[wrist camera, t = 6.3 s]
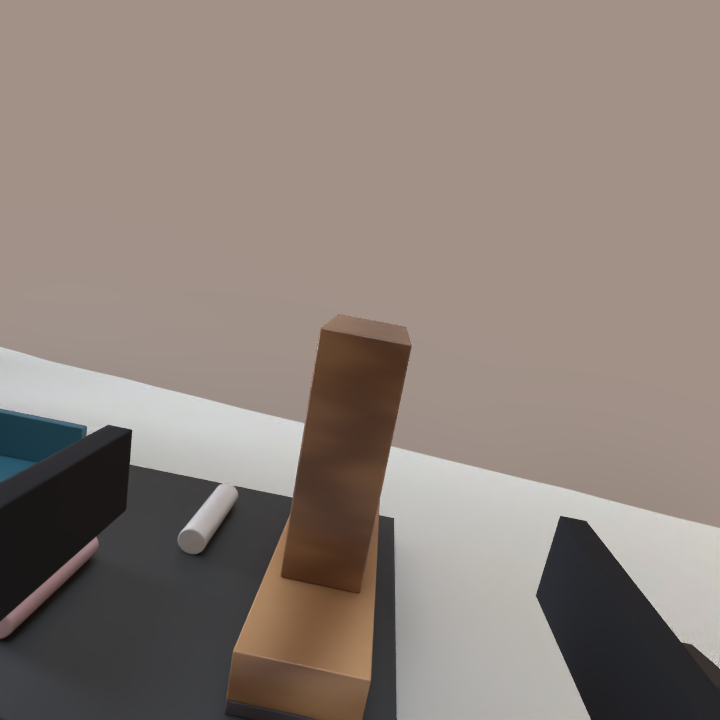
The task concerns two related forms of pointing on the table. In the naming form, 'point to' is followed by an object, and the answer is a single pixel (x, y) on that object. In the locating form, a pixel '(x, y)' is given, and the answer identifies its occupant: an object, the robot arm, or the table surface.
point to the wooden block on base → (327, 539)
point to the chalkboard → (166, 614)
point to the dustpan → (32, 440)
